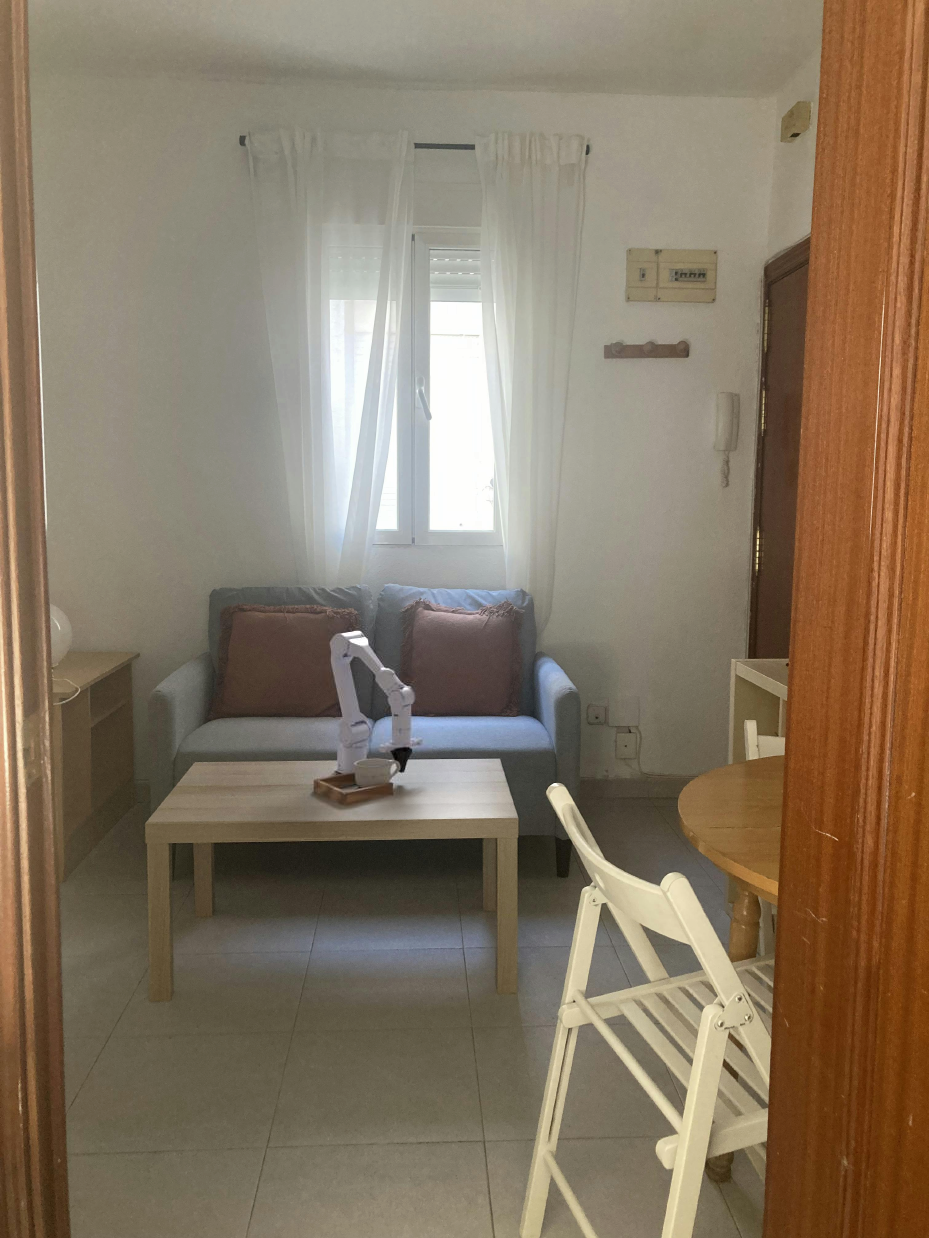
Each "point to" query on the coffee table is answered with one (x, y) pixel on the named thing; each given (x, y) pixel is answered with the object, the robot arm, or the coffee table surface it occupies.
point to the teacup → (374, 772)
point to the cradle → (331, 791)
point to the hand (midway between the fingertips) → (400, 771)
